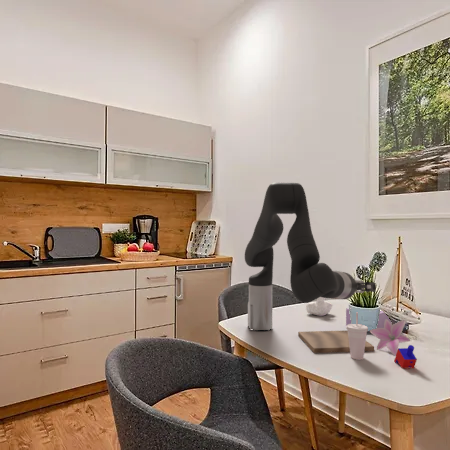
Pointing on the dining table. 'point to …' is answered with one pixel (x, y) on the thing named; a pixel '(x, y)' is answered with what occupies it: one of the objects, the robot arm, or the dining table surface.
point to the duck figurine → (319, 307)
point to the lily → (390, 335)
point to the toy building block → (406, 357)
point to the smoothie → (357, 339)
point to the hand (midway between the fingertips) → (355, 286)
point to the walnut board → (329, 341)
